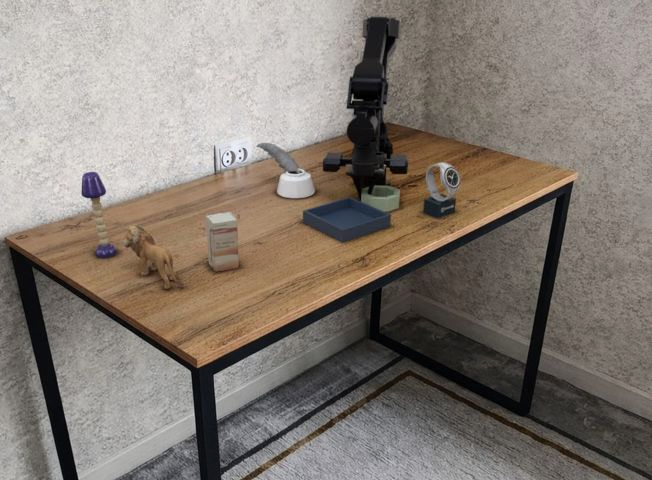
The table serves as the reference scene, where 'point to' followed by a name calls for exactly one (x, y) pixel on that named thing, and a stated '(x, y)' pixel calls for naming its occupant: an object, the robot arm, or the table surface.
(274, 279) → the table surface
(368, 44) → the robot arm
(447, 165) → the watch
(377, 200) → the ring
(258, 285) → the table surface
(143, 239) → the lion figurine
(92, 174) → the toy lamp
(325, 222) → the tray
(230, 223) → the small carton box
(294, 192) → the inkwell
